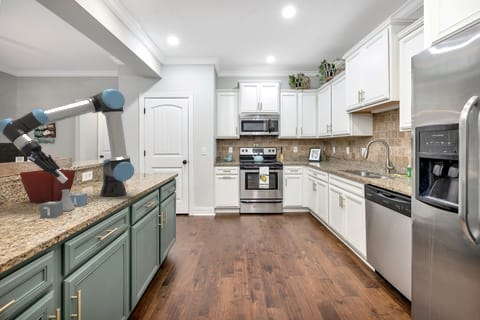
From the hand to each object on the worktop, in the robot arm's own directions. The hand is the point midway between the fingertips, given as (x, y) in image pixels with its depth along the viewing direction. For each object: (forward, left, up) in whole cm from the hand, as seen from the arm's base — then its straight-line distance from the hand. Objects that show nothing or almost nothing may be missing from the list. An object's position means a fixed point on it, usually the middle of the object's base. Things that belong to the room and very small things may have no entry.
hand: (65, 181), depth 130 cm
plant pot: (-7, -33, -15) cm, 37 cm away
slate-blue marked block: (-9, -6, -14) cm, 18 cm away
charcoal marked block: (+9, +6, -14) cm, 18 cm away
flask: (0, 0, -15) cm, 15 cm away
